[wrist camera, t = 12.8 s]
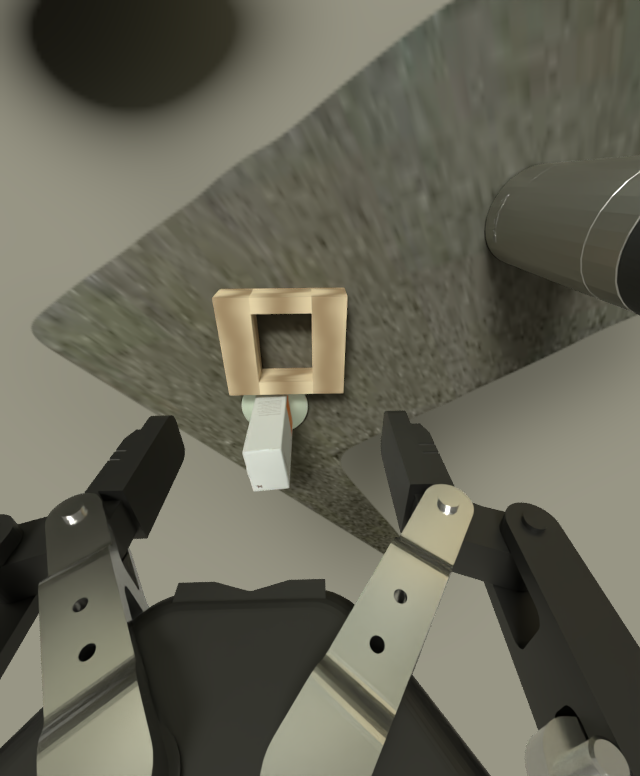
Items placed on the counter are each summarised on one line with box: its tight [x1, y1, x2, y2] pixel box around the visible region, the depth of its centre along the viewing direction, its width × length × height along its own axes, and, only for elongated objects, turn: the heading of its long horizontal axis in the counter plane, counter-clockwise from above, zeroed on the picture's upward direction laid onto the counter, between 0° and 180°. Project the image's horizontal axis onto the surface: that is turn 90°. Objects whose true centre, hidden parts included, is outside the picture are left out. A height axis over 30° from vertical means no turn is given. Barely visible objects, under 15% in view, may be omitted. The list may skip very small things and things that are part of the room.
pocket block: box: [212, 288, 347, 395], centre depth 38 cm, size 14×12×4 cm
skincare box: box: [242, 394, 293, 491], centre depth 39 cm, size 6×4×12 cm
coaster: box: [242, 394, 308, 429], centre depth 45 cm, size 9×9×1 cm
